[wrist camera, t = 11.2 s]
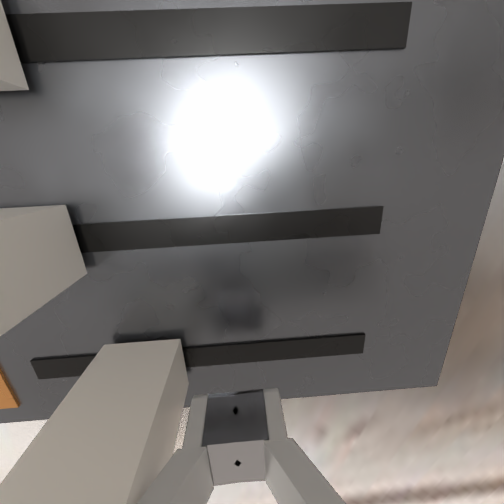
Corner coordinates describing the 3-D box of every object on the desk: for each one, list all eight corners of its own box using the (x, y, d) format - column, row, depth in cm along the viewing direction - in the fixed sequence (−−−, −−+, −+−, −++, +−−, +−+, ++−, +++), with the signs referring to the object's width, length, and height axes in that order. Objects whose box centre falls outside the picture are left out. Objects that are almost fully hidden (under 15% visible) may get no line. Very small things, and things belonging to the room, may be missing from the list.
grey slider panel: (503, -62, 8) (595, -140, 6) (409, 355, 14) (438, 387, 12) (-226, -46, 7) (-409, -129, 5) (9, 387, 13) (-33, 428, 11)
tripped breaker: (180, 338, 10) (124, 505, 5) (188, 383, 10) (148, 563, 6) (103, 344, 9) (-28, 521, 5) (118, 389, 10) (19, 576, 6)
